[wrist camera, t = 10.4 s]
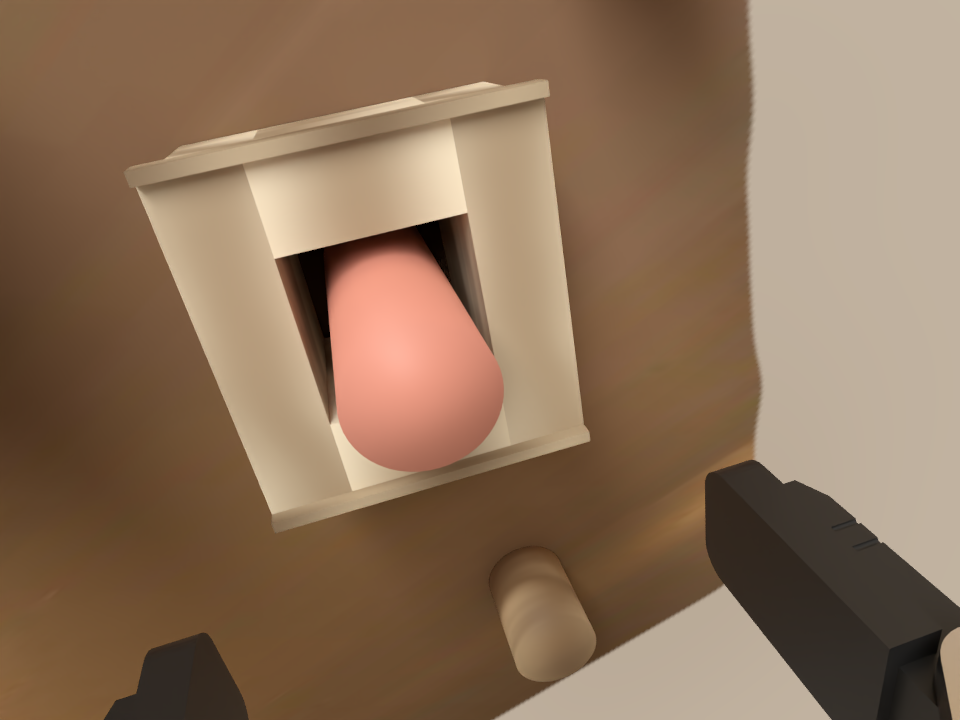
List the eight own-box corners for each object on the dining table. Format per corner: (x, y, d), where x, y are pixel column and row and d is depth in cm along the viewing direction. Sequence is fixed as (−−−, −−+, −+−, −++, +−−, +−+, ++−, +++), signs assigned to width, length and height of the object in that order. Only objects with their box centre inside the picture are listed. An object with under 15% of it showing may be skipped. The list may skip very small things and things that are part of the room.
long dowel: (339, 315, 27) (361, 490, 16) (310, 220, 25) (314, 348, 15) (434, 291, 27) (515, 446, 17) (413, 196, 26) (489, 303, 15)
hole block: (282, 419, 28) (275, 533, 22) (175, 134, 23) (123, 171, 16) (526, 352, 30) (590, 440, 23) (481, 69, 24) (547, 80, 18)
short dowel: (495, 613, 36) (521, 692, 32) (483, 559, 34) (509, 635, 30) (564, 591, 37) (599, 665, 32) (556, 537, 35) (592, 608, 30)
